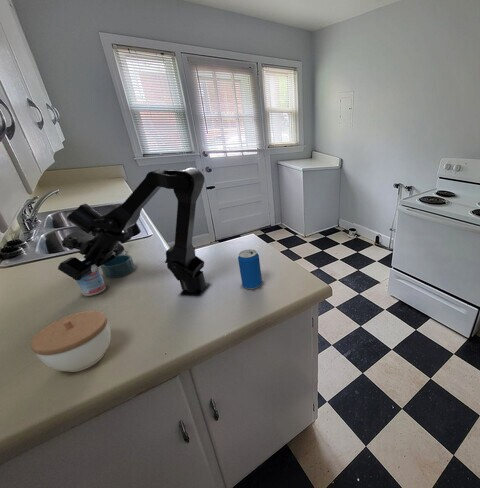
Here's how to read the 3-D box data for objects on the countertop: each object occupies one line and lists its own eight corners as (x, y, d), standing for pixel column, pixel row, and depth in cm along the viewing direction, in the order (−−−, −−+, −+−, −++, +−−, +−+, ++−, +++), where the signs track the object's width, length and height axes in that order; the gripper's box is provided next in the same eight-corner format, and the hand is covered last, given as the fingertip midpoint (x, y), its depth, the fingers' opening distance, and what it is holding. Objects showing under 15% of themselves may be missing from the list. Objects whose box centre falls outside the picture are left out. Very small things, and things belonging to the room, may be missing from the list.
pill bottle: (93, 297, 85) (79, 266, 81) (78, 295, 86) (63, 264, 82) (111, 287, 91) (98, 257, 86) (96, 285, 92) (83, 255, 87)
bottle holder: (140, 265, 104) (137, 255, 103) (122, 278, 96) (117, 267, 94) (118, 264, 105) (114, 254, 103) (97, 277, 97) (93, 266, 95)
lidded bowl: (43, 393, 55) (17, 353, 50) (53, 354, 64) (32, 317, 60) (119, 363, 61) (102, 325, 57) (118, 332, 71) (103, 297, 66)
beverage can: (266, 282, 92) (262, 250, 87) (254, 292, 87) (249, 259, 82) (251, 278, 94) (246, 247, 90) (238, 287, 89) (232, 255, 84)
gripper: (103, 214, 88) (82, 245, 92) (49, 236, 70) (27, 273, 75) (134, 236, 91) (113, 265, 95) (90, 262, 74) (67, 296, 78)
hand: (83, 273), depth 86 cm, fingers closed on pill bottle, 6 cm apart
